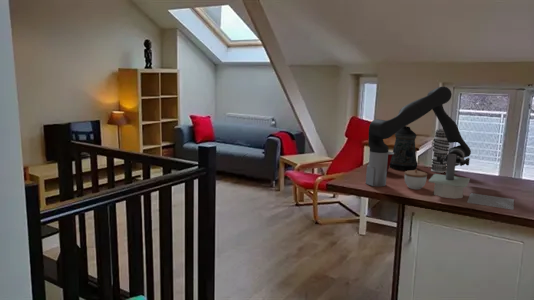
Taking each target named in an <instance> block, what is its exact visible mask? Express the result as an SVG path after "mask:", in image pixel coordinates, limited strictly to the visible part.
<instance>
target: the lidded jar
mask: <svg viewBox="0 0 534 300" xmlns="http://www.w3.org/2000/svg"><path fill="white" fill-rule="evenodd" d="M427 177H428V173H427V172H425V171H422V170H418V169H417V168H416V169H415V170H409V171H404V183H405V185H406V186H407V187H408V189H411V190H422V189H423V187H424V186H425V185H426V182H427Z"/></svg>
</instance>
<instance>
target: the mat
mask: <svg viewBox="0 0 534 300" xmlns="http://www.w3.org/2000/svg"><path fill="white" fill-rule="evenodd" d="M514 201H515V199H514V198H513V199H512V198H507V197H499V196H493V195H487V194H481V193H480V194H479V193H473V192H471V193H470V194H469V196H468V199H467V201H466V203H467V204H473V205H480V206H486V207H492V208H499V209H505V210H510V211H511V210H512V211H514V205H515V203H514Z"/></svg>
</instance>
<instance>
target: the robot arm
mask: <svg viewBox="0 0 534 300" xmlns="http://www.w3.org/2000/svg"><path fill="white" fill-rule="evenodd" d="M451 98H452V90H451V89H450V87H447V86H438V87H436V88H434V89H432V90H430V91H429V92H427V95H426V96H424V97H420V98H418V99H416V100H414V101H411V102H410V103H408V104H405V105H404V106H403V107H401V109H400V110H399V112H398V114H397V115H396V116H394V117H393V118H391V119H387V120H384V119H372V121H371V122H370V124H369V127H368V139H367V141H368V142H367V143H368V147H369V154H368V164H367V165H366V173H365V184H366V185H369V186H370V187H385V186H386V185H387V173H388V172H387V163H388V151H390V150H389V149H390V148H389V146H388V145H387V144H386V143H385V141H384V140H386V139H390V138H391V137H393V136H395V134H396V132H398V131H399V130H400V129H402V128H403V127H405V126H407V127H408V126H409V125H410V124H412V123H413V122H416V121H418V120H419V119H420V118H422V117H423V116H425V115H426V114H428V113H430V111H433V113H434V114H435V116H436V118H437V120H438V122H439V123H440V125H441V127H442V128H441V129H443V130H444V133H445V135H446V138H447V140H448V142H449V144H453V143H458V144H459V145H456V146H453V147H451V148H450V147H449V148H448V150H449V151H448V153H447V156H444V157H442V155H439V156H437V162H439V163H440V164H442V163H447V159H448V154H456V164H455V167H457V166H459V167H462V166H465V165H466V166H470V158H469V157H470V156H471V153H472V150H471V148H470V146H469V145H468V144H467V142H466V141H465V140H464V138H463V136H462V135H461V133H460V129H459V127H458V124H457V123H456V121H454V120H453V119H452V117H450V116H449V114H447V111H445V109H444V104H447V103H449V101H450V100H451ZM443 159H444V161H443Z"/></svg>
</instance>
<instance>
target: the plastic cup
mask: <svg viewBox="0 0 534 300" xmlns="http://www.w3.org/2000/svg"><path fill="white" fill-rule="evenodd" d="M393 154H394V153H393V151H390V150H388V163H387V173H388V172H389V169H390V162H391V158H392V156H393Z"/></svg>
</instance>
